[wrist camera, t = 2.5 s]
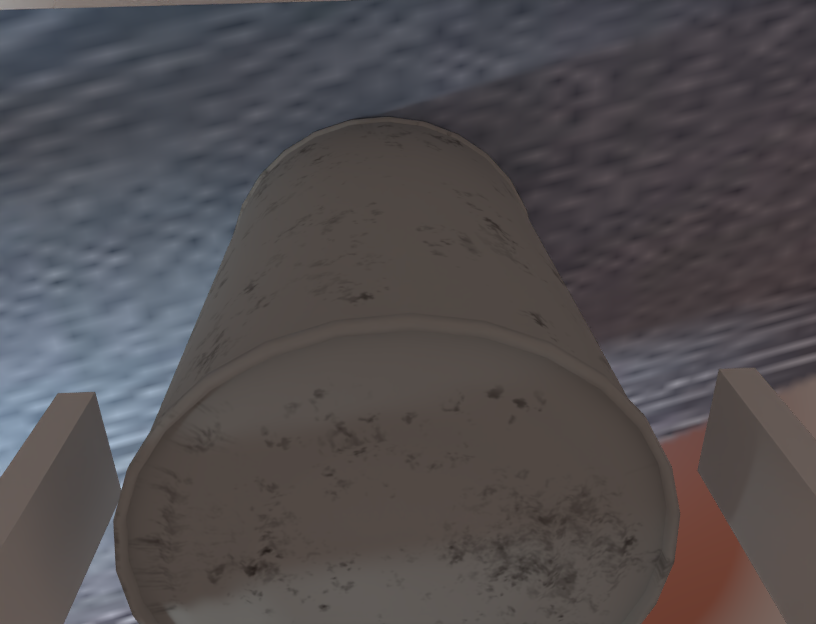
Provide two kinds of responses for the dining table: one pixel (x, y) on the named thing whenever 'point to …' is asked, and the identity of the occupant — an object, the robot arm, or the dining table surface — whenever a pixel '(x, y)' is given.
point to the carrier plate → (122, 3)
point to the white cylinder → (393, 414)
